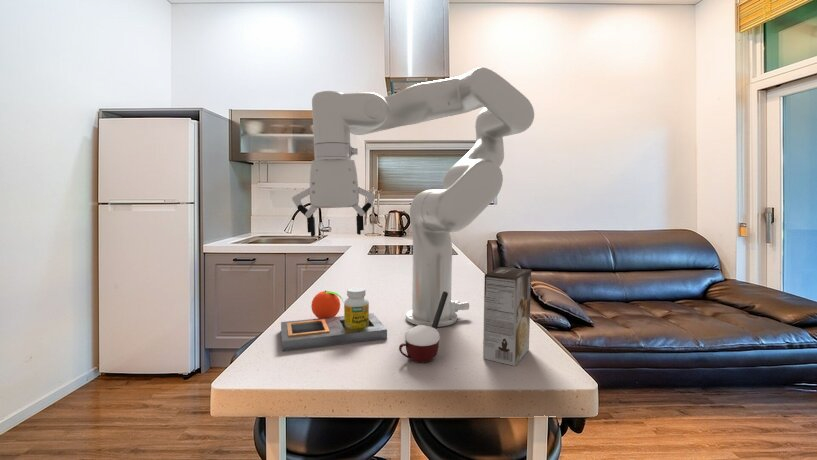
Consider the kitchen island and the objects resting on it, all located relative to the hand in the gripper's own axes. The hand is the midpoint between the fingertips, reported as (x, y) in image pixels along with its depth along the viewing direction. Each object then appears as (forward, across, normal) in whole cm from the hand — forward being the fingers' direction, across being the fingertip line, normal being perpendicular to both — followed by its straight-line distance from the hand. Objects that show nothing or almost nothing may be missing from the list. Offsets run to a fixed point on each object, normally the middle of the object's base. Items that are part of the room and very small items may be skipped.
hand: (336, 234), depth 81 cm
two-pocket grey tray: (+22, +2, +1) cm, 22 cm away
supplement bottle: (+22, -4, 0) cm, 22 cm away
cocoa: (+22, -15, +16) cm, 31 cm away
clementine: (+22, +3, -10) cm, 24 cm away
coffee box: (+23, -31, +17) cm, 42 cm away
